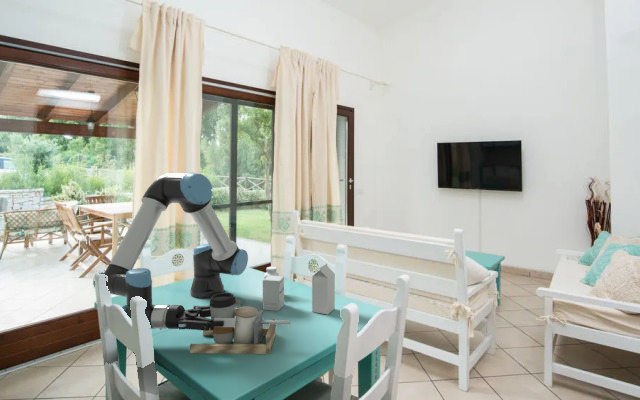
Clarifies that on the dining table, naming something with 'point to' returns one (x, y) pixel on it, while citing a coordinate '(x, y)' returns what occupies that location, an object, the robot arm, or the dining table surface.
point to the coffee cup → (223, 316)
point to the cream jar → (245, 325)
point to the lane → (237, 348)
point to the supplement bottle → (271, 272)
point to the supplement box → (273, 293)
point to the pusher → (259, 326)
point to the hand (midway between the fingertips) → (237, 317)
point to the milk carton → (323, 290)
